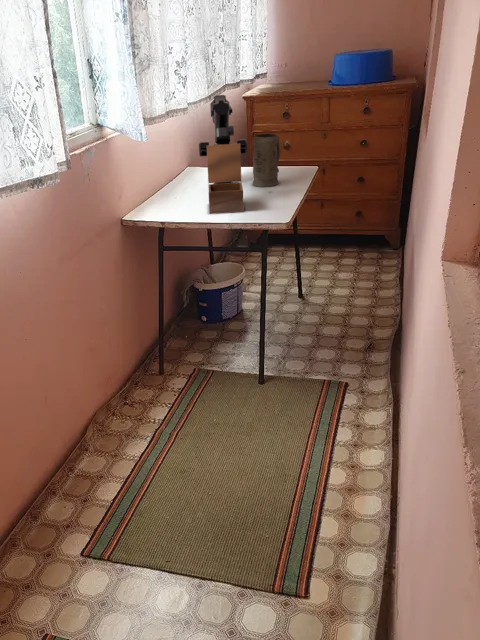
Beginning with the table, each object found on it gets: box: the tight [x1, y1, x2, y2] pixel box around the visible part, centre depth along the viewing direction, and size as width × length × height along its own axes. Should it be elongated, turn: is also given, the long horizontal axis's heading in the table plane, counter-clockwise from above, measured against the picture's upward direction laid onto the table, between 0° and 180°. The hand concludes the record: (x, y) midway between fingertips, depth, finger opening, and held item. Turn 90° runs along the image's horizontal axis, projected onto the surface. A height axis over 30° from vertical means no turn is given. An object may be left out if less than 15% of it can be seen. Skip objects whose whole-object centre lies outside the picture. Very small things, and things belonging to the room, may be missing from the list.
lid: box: [206, 143, 242, 184], centre depth 228 cm, size 13×13×1 cm
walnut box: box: [207, 181, 245, 215], centre depth 227 cm, size 13×13×8 cm
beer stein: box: [252, 133, 281, 188], centre depth 255 cm, size 15×11×20 cm
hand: (223, 166), depth 235 cm, fingers closed
